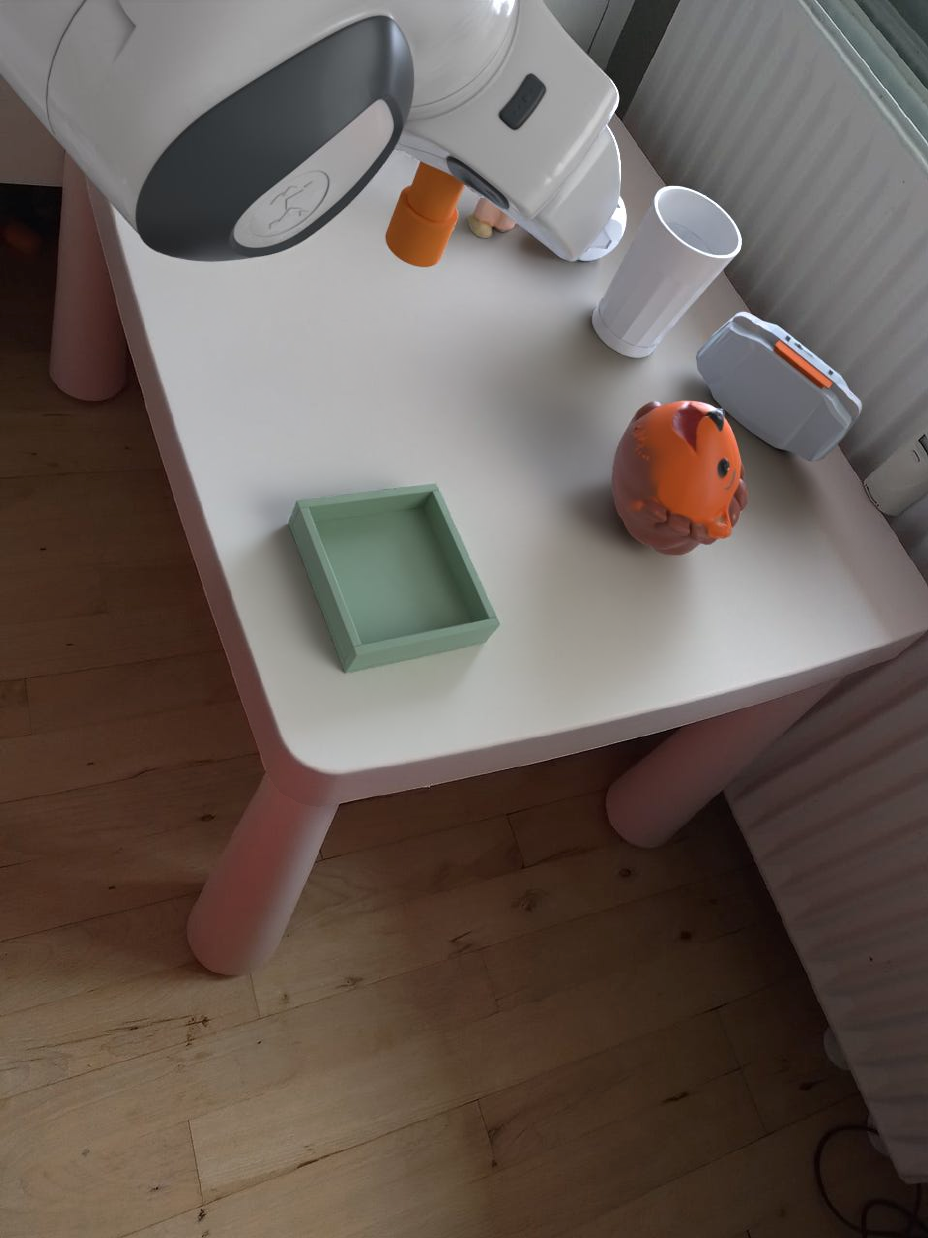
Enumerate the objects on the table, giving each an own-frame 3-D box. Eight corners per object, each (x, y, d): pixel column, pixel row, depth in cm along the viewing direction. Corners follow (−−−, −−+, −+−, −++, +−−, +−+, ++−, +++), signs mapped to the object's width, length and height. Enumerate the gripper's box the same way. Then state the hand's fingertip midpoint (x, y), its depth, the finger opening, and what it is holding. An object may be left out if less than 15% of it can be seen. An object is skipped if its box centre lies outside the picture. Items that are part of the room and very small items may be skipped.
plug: (377, 251, 58) (451, 49, 48) (390, 215, 60) (464, 15, 50) (436, 277, 59) (521, 84, 49) (447, 241, 61) (531, 49, 51)
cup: (569, 297, 86) (637, 183, 76) (638, 296, 90) (712, 187, 80) (607, 366, 83) (683, 257, 74) (677, 363, 87) (758, 258, 77)
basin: (287, 522, 63) (296, 499, 61) (424, 503, 68) (436, 482, 66) (345, 673, 59) (356, 655, 57) (485, 642, 64) (500, 624, 62)
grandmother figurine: (483, 251, 85) (546, 122, 74) (451, 223, 85) (508, 90, 75) (530, 222, 89) (594, 96, 79) (498, 196, 89) (559, 67, 79)
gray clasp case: (816, 461, 88) (878, 403, 81) (806, 478, 86) (869, 420, 79) (691, 360, 88) (743, 294, 82) (678, 375, 86) (730, 309, 80)
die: (607, 262, 91) (634, 219, 87) (563, 260, 88) (589, 216, 84) (586, 223, 92) (612, 179, 88) (542, 221, 90) (567, 175, 86)
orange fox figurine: (582, 438, 78) (657, 336, 68) (696, 472, 81) (782, 379, 72) (588, 562, 71) (671, 468, 62) (711, 594, 74) (807, 508, 65)
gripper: (183, -54, 42) (277, 92, 56) (555, 237, 41) (558, 313, 55) (270, -184, 41) (344, -3, 55) (651, 112, 40) (630, 220, 54)
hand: (453, 157), depth 55 cm, fingers closed on plug, 3 cm apart
